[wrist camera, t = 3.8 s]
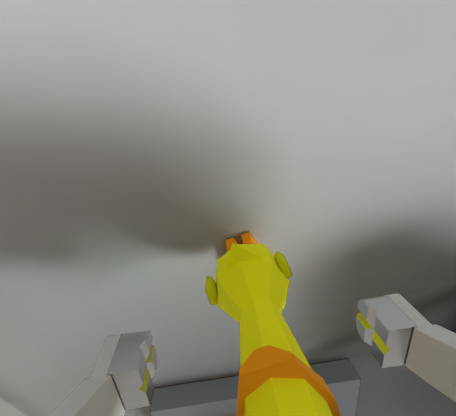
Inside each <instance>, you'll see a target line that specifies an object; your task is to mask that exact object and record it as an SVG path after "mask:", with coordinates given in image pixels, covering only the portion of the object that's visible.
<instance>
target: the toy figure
mask: <svg viewBox="0 0 456 416" xmlns="http://www.w3.org/2000/svg"><path fill="white" fill-rule="evenodd" d="M241 238H242V243H243V244H238V243H237V242H236V240H235V238H234V237H233V238H230V239H226V240H225V242H226V249H227V252H226V253H225V254H224V255H223V256H222V257H220V258H219V259H218V260H217V271H216V283H215V281H214V280H213V278H212V277H209V276H207V279H206V287H205V291H206V293H207V296H208V299H209V302H210V304H211V305H214V304H218V307H219V308H221V309H222V310H223V311H224V312H226V313H227V314H228V315H230V316H231V317H232V318H233V319H235V320H236V321H237V322H239V323H240V369H239V379H238V393H237V412H236V416H341V415H340V412H339V409H338V405H337V402H336V399H335V397H334V396H333V394H332V393H331V391H330V389H329V388H328V386H327V384H326V383H325V381H324V380H323V378H322V377H321V376H320V375H319V374H317V373H316V372H315V371H314V370H312V369H311V367H310V365H309V363H308V361H307V359H306V358H305V356H304V354H303V352H302V350H301V349H300V347H299V345H298V343H297V341H296V339H295V338H294V336H293V334H292V332H291V330H290V328H289V327H288V325H287V323H286V321H285V319H284V318H283V316H282V314H281V312H282V310H283V308H284V306H285V305H286V299H287V293H288V287H289V279H288V278H290V277H291V276H292V272H291V270H290V267H289V265H288V262H287V260H286V258H285V256H284V255H283V254H281V253H280V252H277V251H276V254H275V255H274V254H273V253H272V252H271V251H270V250H269V249H268V248H267V247H266V246H265V245H264V244H258V243H257V242H256V240H255V239H254V238H253V236H252V235H251V234H250V232H247V233H245V234H242V235H241Z"/></svg>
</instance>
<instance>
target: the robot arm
mask: <svg viewBox="0 0 456 416" xmlns="http://www.w3.org/2000/svg"><path fill="white" fill-rule="evenodd" d="M357 308H358V309H359V310H360V312H359V313H358V314H357V315H356V327H357V330H358V333H359V335H360V337H361V338H362V340H363V341H364V342H366V343H367V344H369V345H371V353H372V354H373V356H374V357H375V359H376V360H377V362H378V363H379V365H380V366H381V368H387V367H394V366H402V365H405V367H407V368H408V369H409V370H411V371H412V372H413V373H415V374H416V375H418V376H419V377H420V378H422V379H423V380H425V381H426V382H427V383H429V384H430V385H432V386H433V387H434V388H436V389H437V390H439V391H440V392H441V393H443V394H444V395H446V396H447V397H448V398H450V399H451V400H453V401H454V402H455V403H456V333H454V332H452V331H450V330H447V329H445V328H443V327H441V326H439V325H436V324H435V325H432V324H431V323H430V322H429V321H428V320H427V319H425V318H424V317H423V316H422V315H421V314H420V313H419V312H418V311H417V310H416V309H415V308H414V307H413V306H412V305H411V304H410V303H409V302H408V301H407V300H406V299H405V298H404V297H403V296H402V295H400V294H398V293H396V294H389V295H384V296H377V297H371V298H364V299H359V301H358V304H357ZM151 342H152V335H151V332H150V331H143V332H135V333H127V334H121V335H113V336H108V337H107V339H106V340H105V342H104V345H103V347H102V350H101V352H100V355H99V357H98V359H97V362H96V364H95V367H94V369H93V372H92V374H91V377H90V378H88V379H85V380H84V381H83V382H82V383H81V384H80V385H79V386H78V387H77V388H76V389H75V390H74V391H73V392H72V393H71V394H70V395H69V396H68V397H67V398H66V399H65V400H64V401H63V402H62V403H61V404H60V405H59V406H58V407H57V408H56V409H55V410H54V411H53V412H52V413H51V414H50V415H49V416H123V415H124V414H125V411H126V410H131V409H136V408H141V407H146V406H150V404H151V398H152V392H153V383H152V380H151V379H152V378H153V377H154V375H155V374H156V368H157V354H156V349H155V346H154V345H152V344H151Z"/></svg>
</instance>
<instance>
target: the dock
mask: <svg viewBox="0 0 456 416" xmlns="http://www.w3.org/2000/svg"><path fill="white" fill-rule="evenodd" d="M310 367H311V369H312V370H314V371H315V372H316V373H317V374H319V375H320V376H321V377H322V378H323V380H324V381H325V383H326V384H327V386H328V388H329V389H330V391H331V393H332V394H333V396H334V397H335V399H336V402H337V405H338V409H339V412H340V415H341V416H355V415H356V408H357V401H358V395H359V388H360V381H361V378H360V377H359V375H358V373H357V371H356V370H355V368H354V366H353V364H352V363H351V361H350V359H344V360H337V361H331V362H324V363H318V364H311V365H310ZM238 379H239V376H233V377H226V378H220V379H213V380H207V381H200V382H194V383H187V384H180V385H174V386H167V387H161V388H154V393H153V399H152V405H151V411H150V412H151V415H152V416H236V412H237V393H238Z"/></svg>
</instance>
